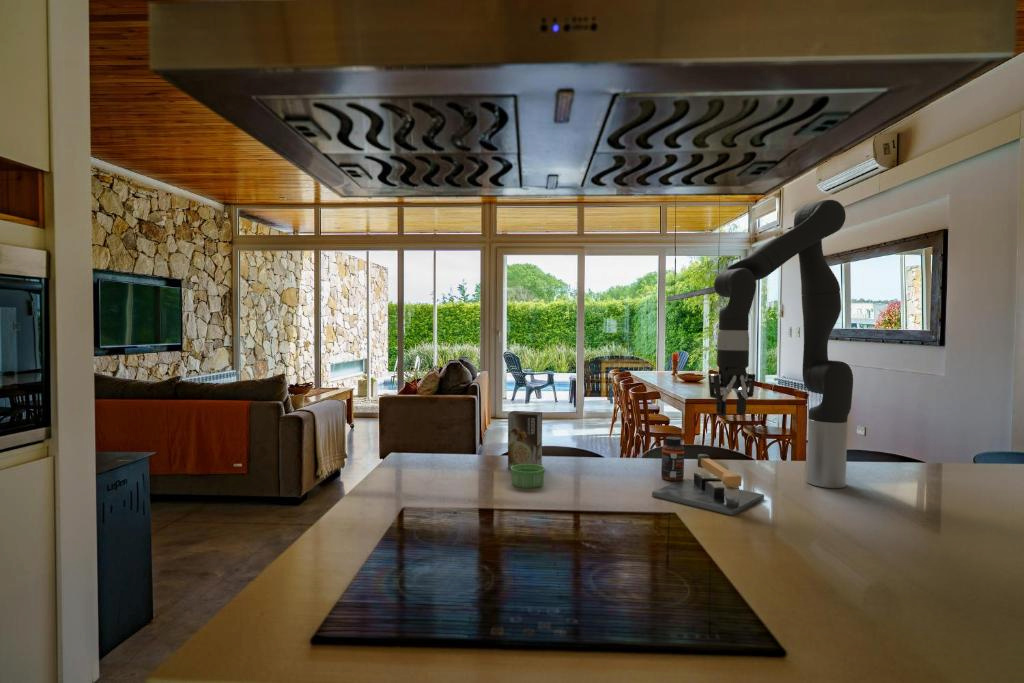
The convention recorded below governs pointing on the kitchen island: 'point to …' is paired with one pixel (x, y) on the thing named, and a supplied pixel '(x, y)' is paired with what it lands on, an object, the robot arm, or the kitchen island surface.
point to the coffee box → (524, 438)
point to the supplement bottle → (672, 459)
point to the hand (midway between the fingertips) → (731, 414)
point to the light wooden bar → (719, 471)
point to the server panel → (704, 499)
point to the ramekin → (527, 475)
